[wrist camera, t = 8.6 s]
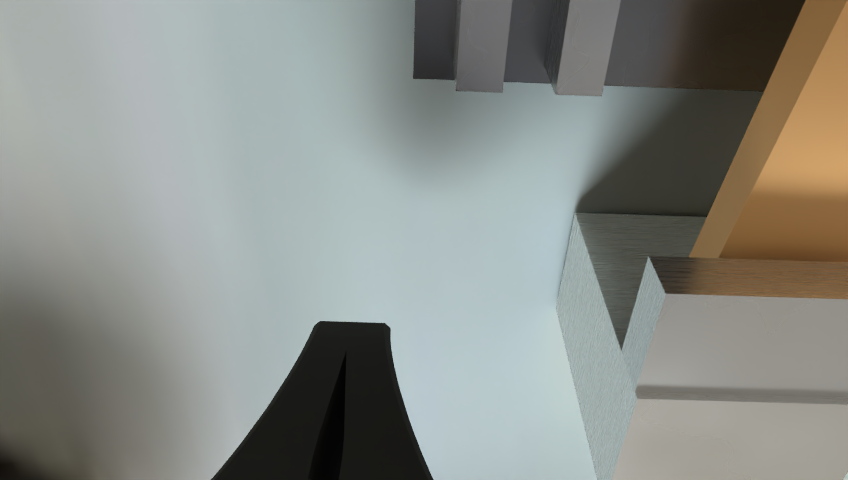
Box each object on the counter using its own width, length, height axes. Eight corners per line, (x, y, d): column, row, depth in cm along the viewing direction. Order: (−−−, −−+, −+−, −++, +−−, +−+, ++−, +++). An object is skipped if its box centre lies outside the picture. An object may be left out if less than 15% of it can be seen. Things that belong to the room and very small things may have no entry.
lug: (783, 137, 14) (952, 309, 9) (716, 313, 17) (822, 510, 12) (590, 130, 14) (669, 301, 9) (555, 308, 16) (603, 505, 12)
